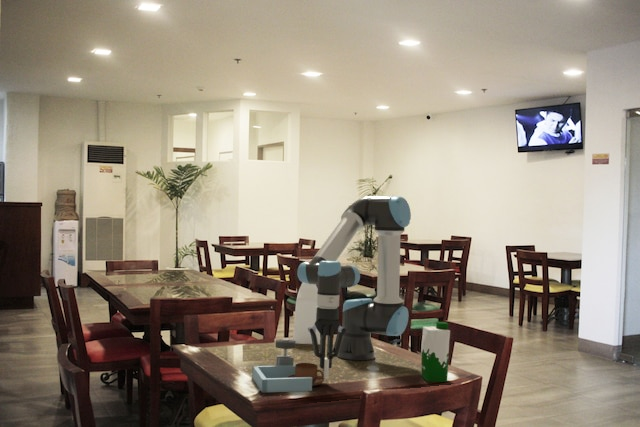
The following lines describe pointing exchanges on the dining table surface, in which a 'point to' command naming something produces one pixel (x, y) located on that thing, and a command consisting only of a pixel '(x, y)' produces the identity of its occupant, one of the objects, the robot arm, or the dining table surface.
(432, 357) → the milk carton
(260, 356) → the dining table surface
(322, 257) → the robot arm
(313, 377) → the cup and saucer
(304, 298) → the milk
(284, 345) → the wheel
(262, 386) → the light blue tray
